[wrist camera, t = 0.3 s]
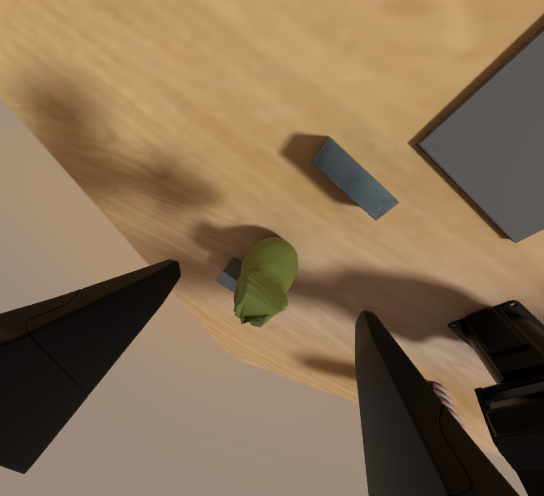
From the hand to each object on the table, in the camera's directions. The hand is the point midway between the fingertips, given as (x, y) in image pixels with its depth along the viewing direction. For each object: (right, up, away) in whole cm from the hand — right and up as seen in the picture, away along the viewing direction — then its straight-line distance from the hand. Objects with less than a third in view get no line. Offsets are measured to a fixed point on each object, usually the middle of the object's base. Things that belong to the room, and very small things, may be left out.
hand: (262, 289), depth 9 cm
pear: (+1, +2, +14) cm, 14 cm away
